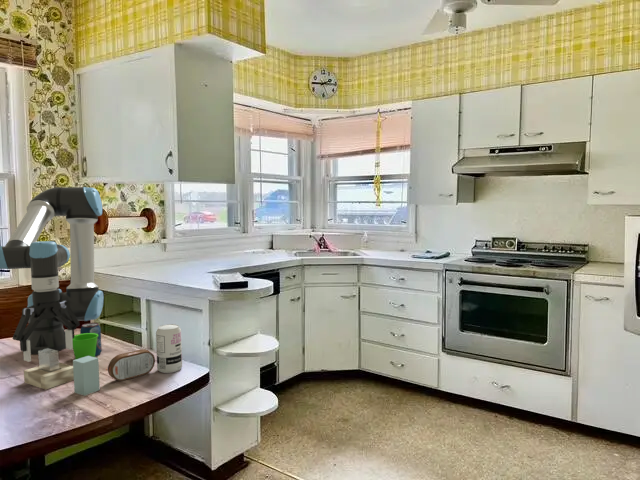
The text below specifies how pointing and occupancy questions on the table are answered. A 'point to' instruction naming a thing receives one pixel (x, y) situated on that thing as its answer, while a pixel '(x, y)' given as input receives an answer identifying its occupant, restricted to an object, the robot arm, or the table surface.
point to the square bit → (86, 375)
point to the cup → (84, 345)
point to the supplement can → (169, 348)
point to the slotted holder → (48, 376)
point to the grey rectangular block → (48, 360)
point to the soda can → (93, 329)
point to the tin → (131, 364)
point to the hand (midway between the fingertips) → (49, 354)
